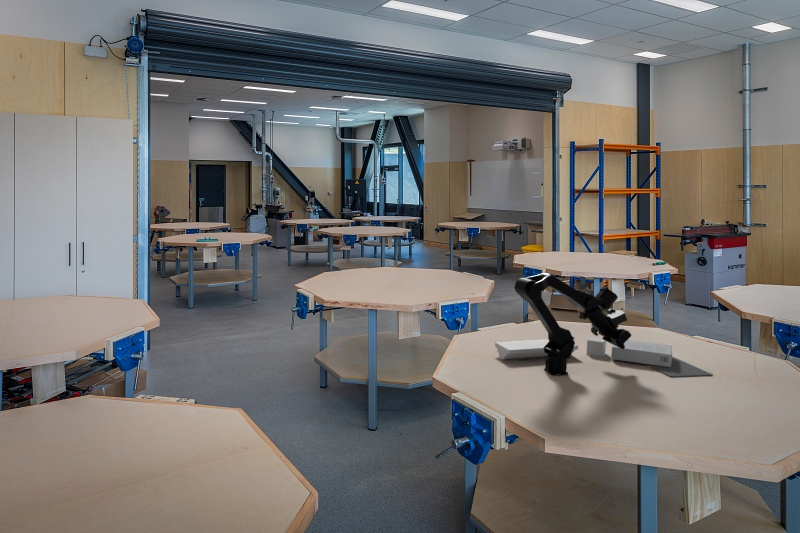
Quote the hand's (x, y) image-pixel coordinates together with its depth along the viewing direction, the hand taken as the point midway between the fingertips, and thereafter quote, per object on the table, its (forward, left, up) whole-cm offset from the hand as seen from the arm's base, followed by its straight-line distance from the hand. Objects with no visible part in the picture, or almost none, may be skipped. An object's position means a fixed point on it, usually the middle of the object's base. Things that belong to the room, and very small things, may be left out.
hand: (623, 348), depth 209 cm
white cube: (+1, -18, -8) cm, 20 cm away
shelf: (+27, -17, -8) cm, 33 cm away
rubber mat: (-19, 0, -7) cm, 21 cm away
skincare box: (-8, -2, -4) cm, 10 cm away
